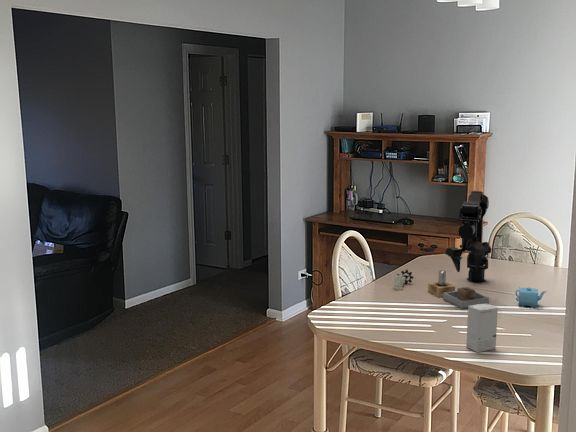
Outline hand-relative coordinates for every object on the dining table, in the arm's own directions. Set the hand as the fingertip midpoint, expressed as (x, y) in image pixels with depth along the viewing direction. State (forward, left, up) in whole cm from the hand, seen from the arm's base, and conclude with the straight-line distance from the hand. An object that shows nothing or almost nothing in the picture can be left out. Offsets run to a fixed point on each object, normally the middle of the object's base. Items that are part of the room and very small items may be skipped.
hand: (467, 270), depth 263 cm
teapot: (-20, +15, -13) cm, 28 cm away
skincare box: (+26, +43, -13) cm, 52 cm away
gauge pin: (+4, -12, -13) cm, 18 cm away
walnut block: (+1, +1, -12) cm, 13 cm away
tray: (+1, +1, -13) cm, 13 cm away
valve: (+14, -28, -13) cm, 34 cm away
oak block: (+4, -12, -13) cm, 18 cm away
